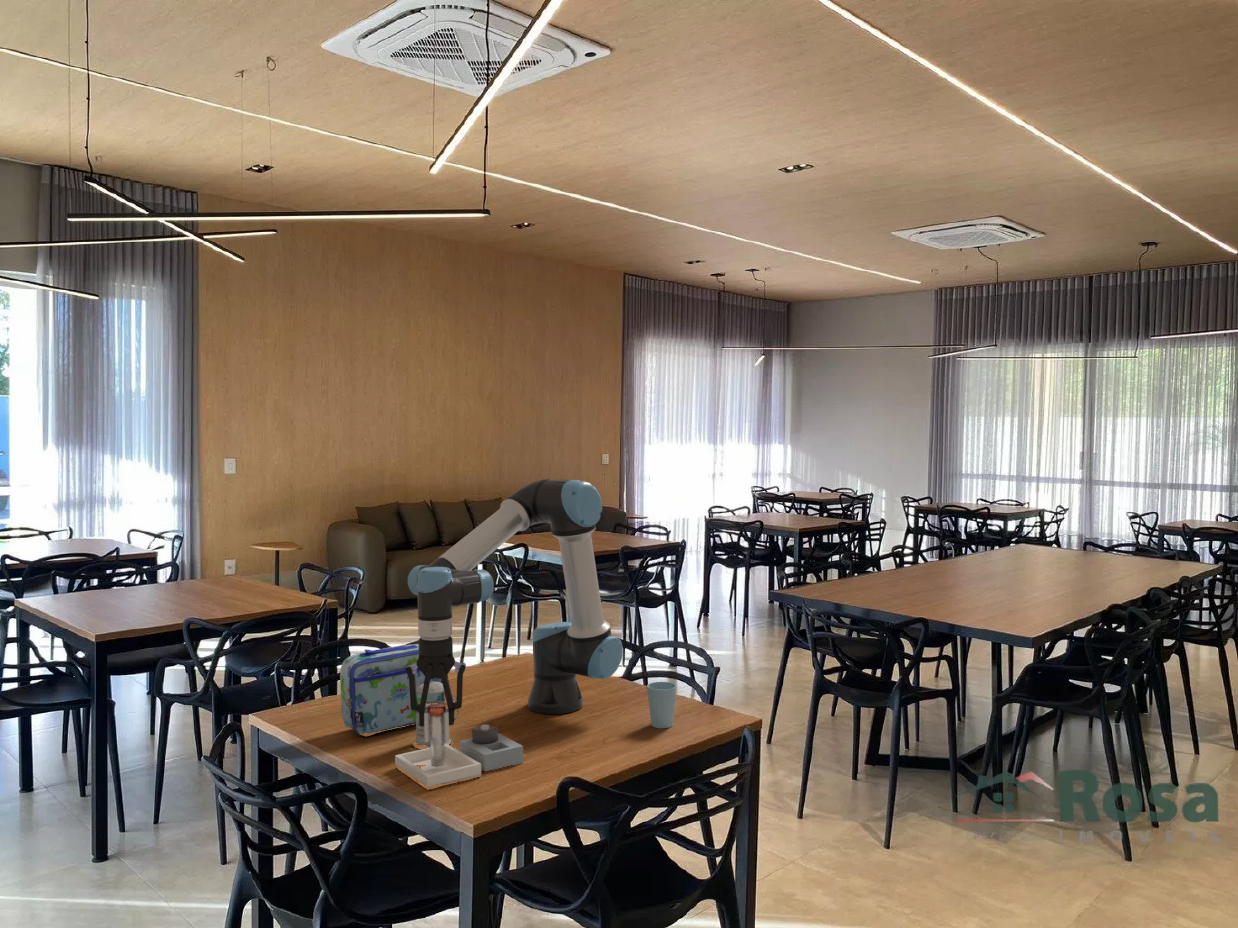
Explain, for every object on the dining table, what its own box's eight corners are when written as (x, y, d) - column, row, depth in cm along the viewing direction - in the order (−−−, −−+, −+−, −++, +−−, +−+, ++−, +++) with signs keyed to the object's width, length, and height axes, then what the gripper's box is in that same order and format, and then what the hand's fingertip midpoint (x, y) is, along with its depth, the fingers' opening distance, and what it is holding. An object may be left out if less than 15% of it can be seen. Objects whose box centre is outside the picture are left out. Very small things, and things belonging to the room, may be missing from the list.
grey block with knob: (460, 757, 226) (459, 726, 226) (497, 749, 232) (497, 718, 232) (484, 772, 217) (484, 740, 216) (523, 762, 223) (522, 731, 222)
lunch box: (352, 742, 238) (350, 658, 237) (337, 731, 247) (335, 650, 246) (448, 722, 254) (446, 643, 253) (430, 712, 262) (429, 636, 261)
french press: (417, 737, 242) (415, 638, 241) (463, 737, 242) (461, 638, 240) (407, 750, 232) (405, 647, 231) (455, 750, 232) (453, 647, 231)
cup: (682, 727, 248) (681, 687, 247) (655, 731, 245) (655, 690, 244) (668, 719, 255) (668, 680, 254) (642, 723, 252) (642, 683, 251)
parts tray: (395, 768, 220) (395, 755, 220) (446, 756, 228) (446, 743, 227) (427, 790, 206) (427, 776, 206) (481, 777, 214) (481, 763, 214)
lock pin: (425, 763, 217) (424, 705, 217) (441, 759, 220) (440, 702, 219) (433, 768, 214) (432, 710, 213) (449, 764, 216) (448, 706, 216)
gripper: (394, 641, 211) (396, 746, 212) (473, 639, 213) (474, 743, 214) (398, 634, 218) (400, 735, 219) (474, 631, 220) (475, 732, 221)
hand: (437, 739), depth 217 cm, fingers closed on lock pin, 4 cm apart
